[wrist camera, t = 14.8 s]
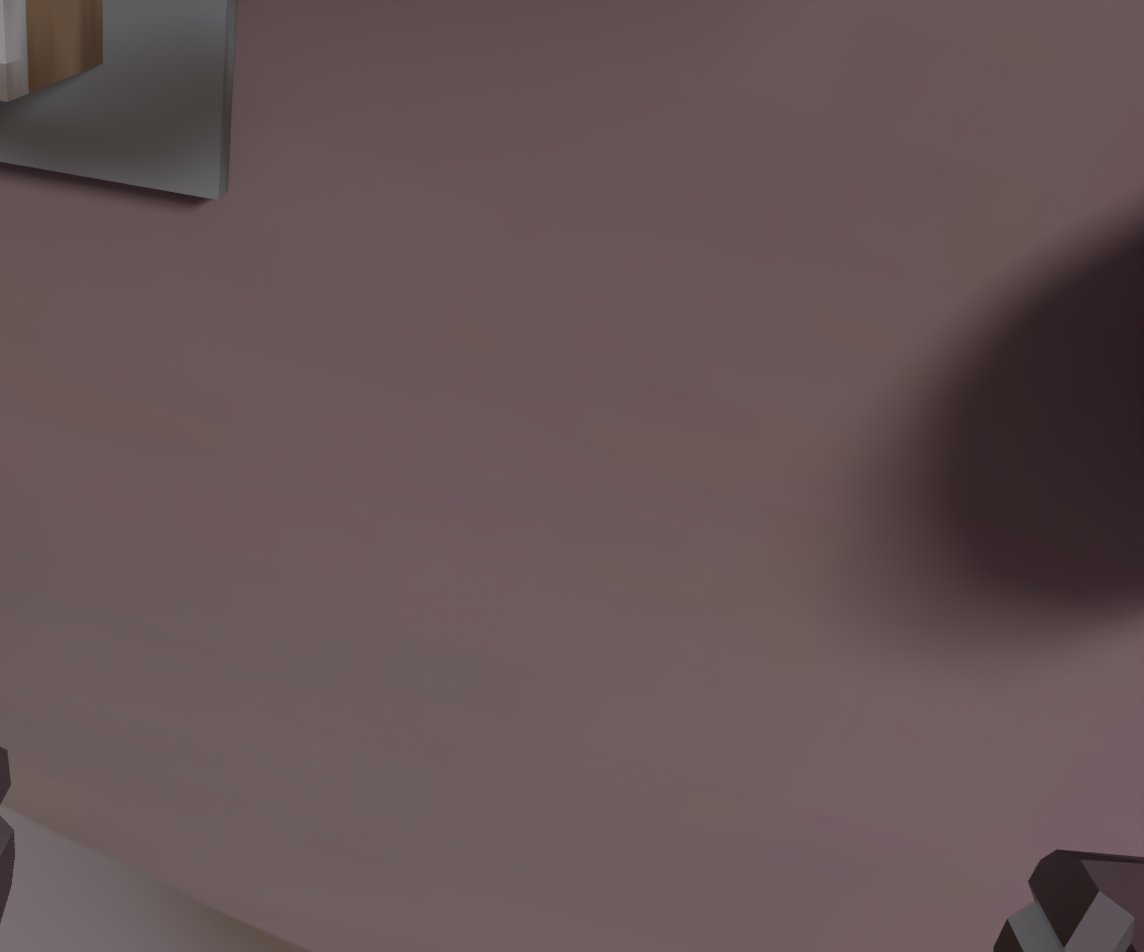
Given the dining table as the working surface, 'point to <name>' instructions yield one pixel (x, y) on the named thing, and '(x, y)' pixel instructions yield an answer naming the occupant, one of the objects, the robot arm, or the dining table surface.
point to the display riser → (120, 90)
